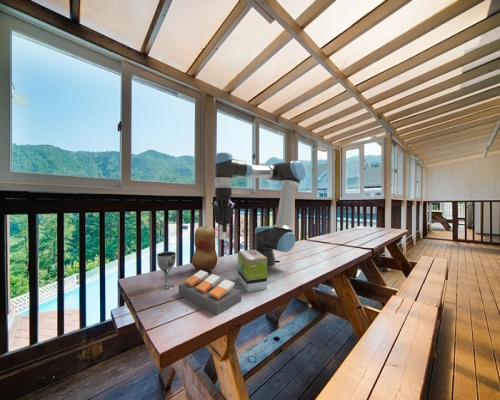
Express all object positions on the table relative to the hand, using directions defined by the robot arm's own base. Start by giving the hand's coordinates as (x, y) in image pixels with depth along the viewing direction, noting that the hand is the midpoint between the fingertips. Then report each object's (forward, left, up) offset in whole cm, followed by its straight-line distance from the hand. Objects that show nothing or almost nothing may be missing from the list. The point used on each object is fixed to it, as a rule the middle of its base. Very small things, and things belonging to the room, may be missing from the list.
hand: (222, 238), depth 95 cm
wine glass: (+16, -20, -23) cm, 34 cm away
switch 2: (+10, +11, -17) cm, 23 cm away
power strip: (+6, +3, -22) cm, 23 cm away
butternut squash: (-8, -22, -23) cm, 33 cm away
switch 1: (+10, -5, -17) cm, 21 cm away
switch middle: (+10, +3, -17) cm, 20 cm away
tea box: (-12, +8, -23) cm, 27 cm away
